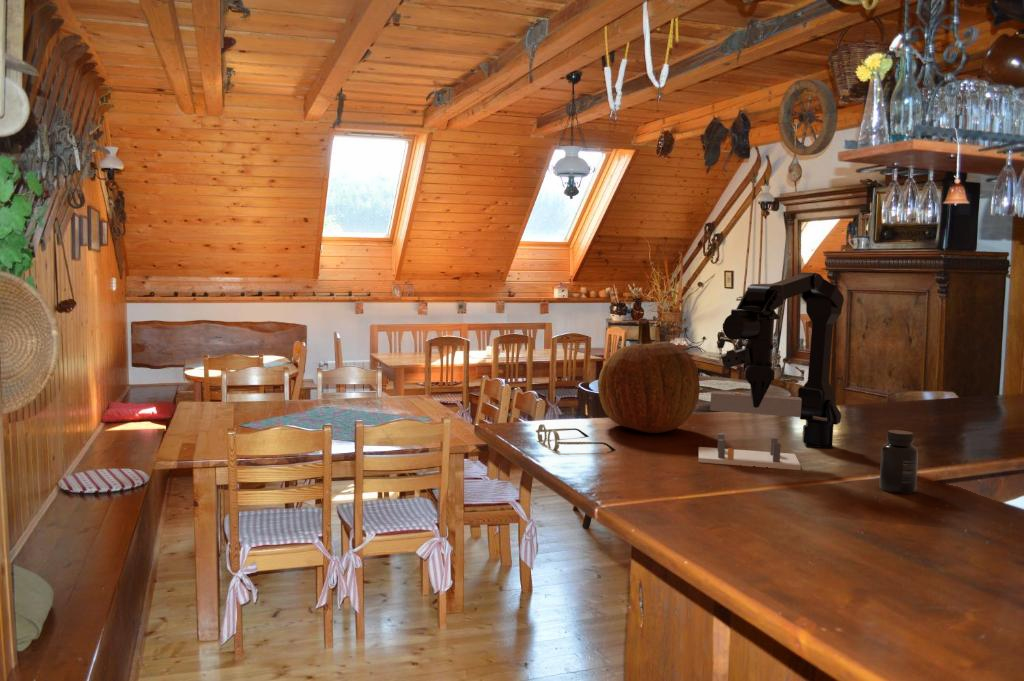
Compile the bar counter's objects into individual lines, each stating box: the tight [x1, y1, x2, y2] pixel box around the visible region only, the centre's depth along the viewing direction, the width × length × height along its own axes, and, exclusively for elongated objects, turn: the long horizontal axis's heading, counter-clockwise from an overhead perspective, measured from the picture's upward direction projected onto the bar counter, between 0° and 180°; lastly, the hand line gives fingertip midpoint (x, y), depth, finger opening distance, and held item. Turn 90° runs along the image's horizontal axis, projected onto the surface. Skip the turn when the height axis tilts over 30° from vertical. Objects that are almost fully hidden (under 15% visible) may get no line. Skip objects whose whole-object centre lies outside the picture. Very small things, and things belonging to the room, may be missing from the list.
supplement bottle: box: [878, 429, 919, 495], centre depth 169 cm, size 7×7×12 cm
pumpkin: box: [597, 317, 701, 434], centre depth 222 cm, size 27×27×30 cm
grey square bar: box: [709, 390, 802, 418], centre depth 193 cm, size 20×4×4 cm, turn 76°
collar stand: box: [698, 432, 802, 471], centre depth 192 cm, size 22×12×5 cm, turn 77°
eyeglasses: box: [535, 423, 616, 451], centre depth 204 cm, size 17×15×5 cm
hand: (755, 406), depth 193 cm, fingers closed on grey square bar, 4 cm apart
